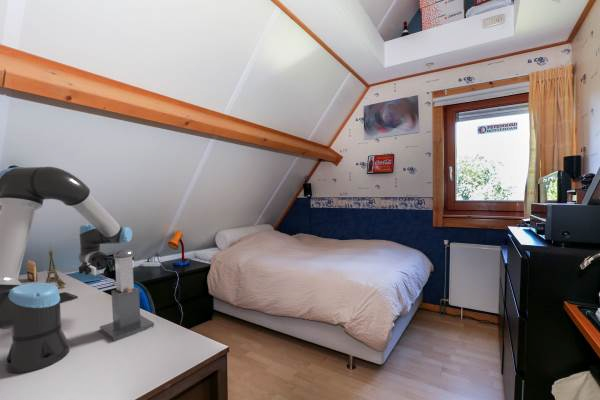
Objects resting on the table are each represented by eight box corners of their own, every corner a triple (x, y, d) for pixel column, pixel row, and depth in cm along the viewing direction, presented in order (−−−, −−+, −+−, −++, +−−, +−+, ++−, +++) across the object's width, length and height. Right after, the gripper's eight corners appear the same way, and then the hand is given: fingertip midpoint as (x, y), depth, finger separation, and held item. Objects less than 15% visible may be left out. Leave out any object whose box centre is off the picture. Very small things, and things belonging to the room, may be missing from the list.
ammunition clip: (37, 281, 179) (36, 261, 178) (33, 281, 177) (32, 262, 177) (31, 278, 185) (30, 259, 184) (27, 279, 183) (26, 259, 183)
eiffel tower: (39, 292, 158) (36, 245, 157) (41, 287, 167) (38, 243, 166) (64, 288, 164) (61, 243, 163) (65, 283, 173) (63, 240, 172)
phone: (64, 291, 156) (78, 296, 148) (64, 294, 156) (78, 298, 148) (46, 296, 149) (59, 301, 142) (46, 299, 149) (59, 304, 142)
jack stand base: (154, 326, 115) (152, 286, 114) (113, 341, 104) (111, 297, 104) (138, 317, 124) (136, 279, 123) (99, 330, 113) (97, 289, 112)
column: (139, 322, 114) (135, 251, 113) (121, 328, 110) (117, 254, 108) (132, 318, 119) (128, 249, 117) (114, 324, 114) (110, 252, 112)
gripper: (128, 262, 143) (147, 269, 129) (63, 275, 124) (77, 285, 110) (127, 247, 142) (146, 252, 129) (62, 257, 123) (76, 265, 110)
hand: (115, 267), depth 119 cm, fingers open, 13 cm apart
